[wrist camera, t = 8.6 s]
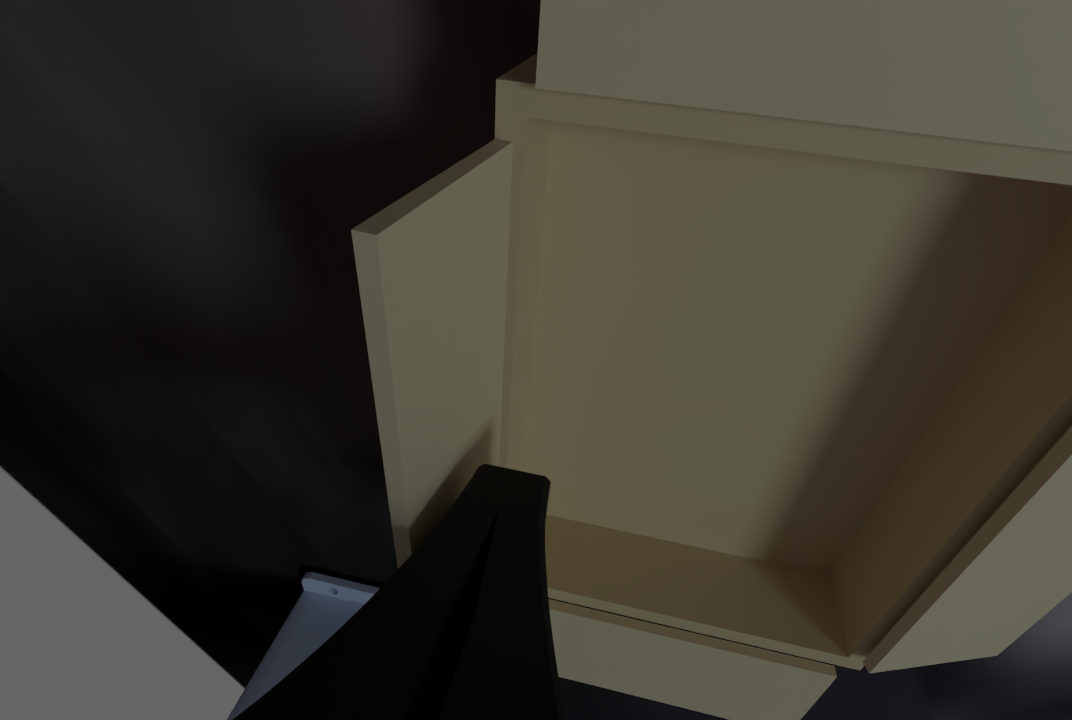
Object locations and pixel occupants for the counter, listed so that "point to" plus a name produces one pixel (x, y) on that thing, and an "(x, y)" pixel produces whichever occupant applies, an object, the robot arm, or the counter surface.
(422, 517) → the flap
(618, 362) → the carton
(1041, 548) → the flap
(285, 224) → the counter surface
